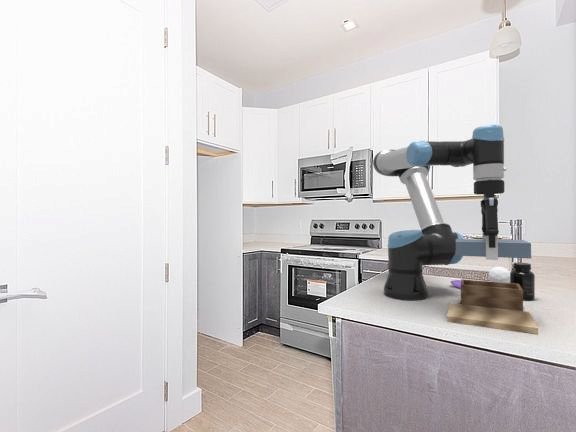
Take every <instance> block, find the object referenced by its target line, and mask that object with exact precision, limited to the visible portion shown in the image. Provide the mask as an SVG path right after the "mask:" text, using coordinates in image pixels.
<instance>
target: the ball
mask: <svg viewBox="0 0 576 432" xmlns="http://www.w3.org/2000/svg"><path fill="white" fill-rule="evenodd" d="M510 272H511V271H510V270H509V269H508V268H507V267H503V266H494V267H493V268H491V269H489V272H488V279H489V281H490V282H503V283H510Z"/></svg>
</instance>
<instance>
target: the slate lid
mask: <svg viewBox="0 0 576 432" xmlns="http://www.w3.org/2000/svg"><path fill="white" fill-rule="evenodd" d="M456 256H463V257H480V258H481V257H483V258H486V239H483V238H482V239H481V238H480V239H479V238H477V239H476V238H474V239H473V238H463V239H456ZM498 258H503V259H505V258H507V259H529V260H530V259H532V243H531V242H528V241H527V240H524V239H498Z"/></svg>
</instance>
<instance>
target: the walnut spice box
mask: <svg viewBox="0 0 576 432" xmlns="http://www.w3.org/2000/svg"><path fill="white" fill-rule="evenodd" d="M460 280H461V289H460V304H464V305H472V306H481V307H490V308H499V309H508V310H516V311H524V300H523V289H522V288H521V286H520V285H519V284H515V283H503V282H491V281H490V280H489V281H487V280H476V279H475V280H474V279H462V278H461V279H460Z"/></svg>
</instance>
